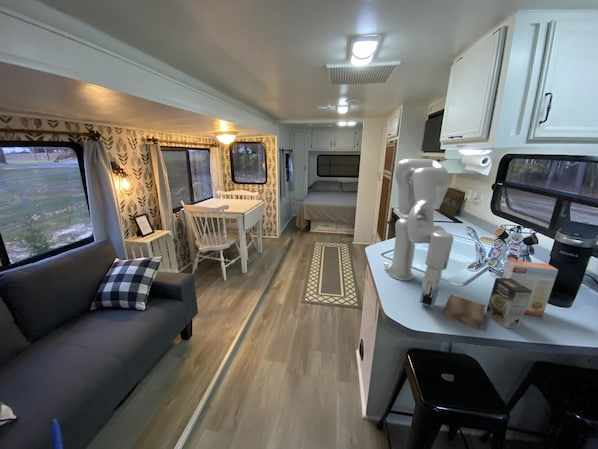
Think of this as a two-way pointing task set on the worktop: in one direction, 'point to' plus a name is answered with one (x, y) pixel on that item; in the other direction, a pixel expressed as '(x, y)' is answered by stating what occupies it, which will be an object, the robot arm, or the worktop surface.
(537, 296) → the cracker box
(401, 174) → the robot arm
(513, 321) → the coffee box
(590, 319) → the worktop surface
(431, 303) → the blue block
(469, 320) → the walnut base
